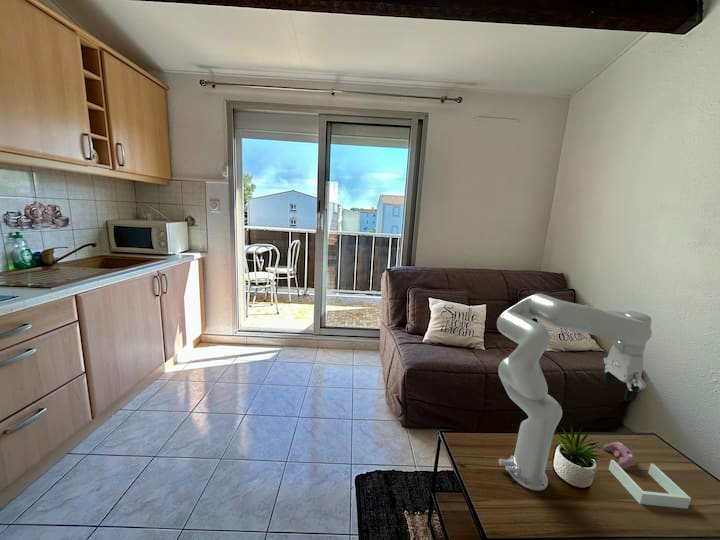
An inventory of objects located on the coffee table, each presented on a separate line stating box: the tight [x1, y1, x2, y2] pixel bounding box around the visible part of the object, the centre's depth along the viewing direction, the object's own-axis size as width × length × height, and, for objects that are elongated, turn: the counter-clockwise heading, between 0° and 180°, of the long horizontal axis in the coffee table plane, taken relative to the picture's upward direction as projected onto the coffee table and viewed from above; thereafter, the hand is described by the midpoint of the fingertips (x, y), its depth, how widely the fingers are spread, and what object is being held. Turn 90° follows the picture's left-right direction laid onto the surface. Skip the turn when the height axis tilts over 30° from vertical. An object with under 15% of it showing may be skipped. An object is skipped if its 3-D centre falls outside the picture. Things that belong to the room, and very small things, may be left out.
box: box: [608, 459, 692, 510], centre depth 100 cm, size 15×13×4 cm
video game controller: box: [602, 441, 637, 469], centre depth 111 cm, size 10×5×7 cm, turn 169°
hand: (618, 391), depth 104 cm, fingers open, 9 cm apart
